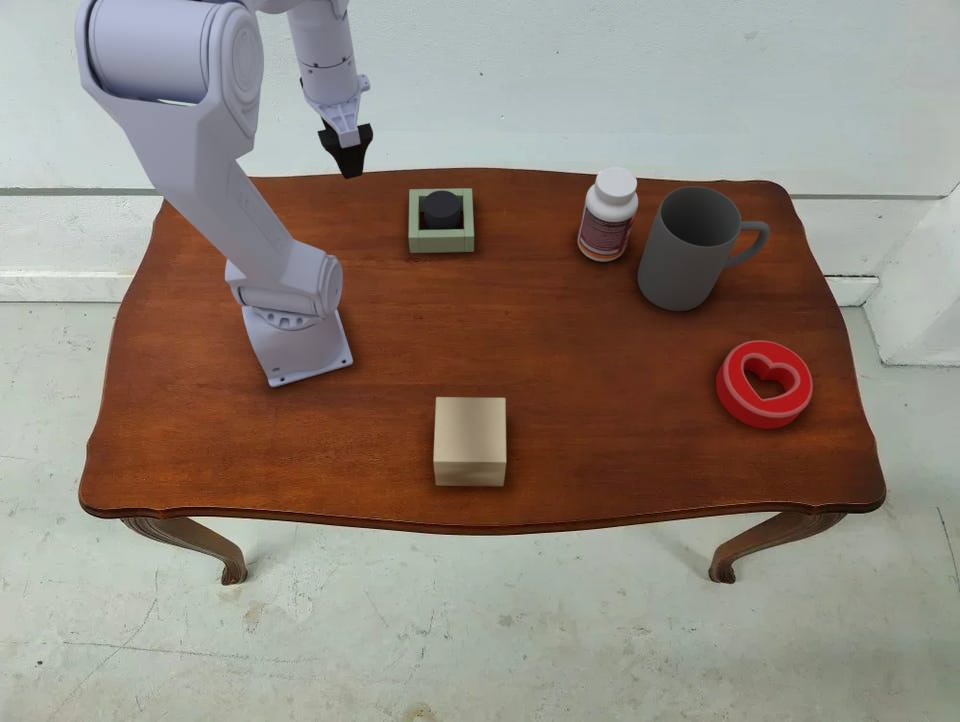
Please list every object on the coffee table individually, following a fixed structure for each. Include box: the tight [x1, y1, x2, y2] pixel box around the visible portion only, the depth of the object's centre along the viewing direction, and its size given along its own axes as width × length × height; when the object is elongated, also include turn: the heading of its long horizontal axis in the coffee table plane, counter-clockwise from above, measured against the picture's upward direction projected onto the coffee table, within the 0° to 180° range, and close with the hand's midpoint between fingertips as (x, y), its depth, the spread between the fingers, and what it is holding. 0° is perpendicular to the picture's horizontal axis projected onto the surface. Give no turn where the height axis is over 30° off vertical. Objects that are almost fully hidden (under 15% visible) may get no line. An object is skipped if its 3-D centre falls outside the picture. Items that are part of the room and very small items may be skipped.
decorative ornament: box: [715, 339, 814, 430], centre depth 78 cm, size 10×10×3 cm
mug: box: [637, 185, 771, 312], centre depth 82 cm, size 14×9×12 cm
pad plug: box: [423, 190, 461, 230], centre depth 89 cm, size 4×4×4 cm
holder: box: [408, 187, 475, 254], centre depth 89 cm, size 8×8×3 cm
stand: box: [432, 396, 507, 487], centre depth 72 cm, size 7×7×6 cm
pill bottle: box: [577, 166, 639, 263], centre depth 85 cm, size 6×6×11 cm
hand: (344, 153), depth 83 cm, fingers open, 7 cm apart
